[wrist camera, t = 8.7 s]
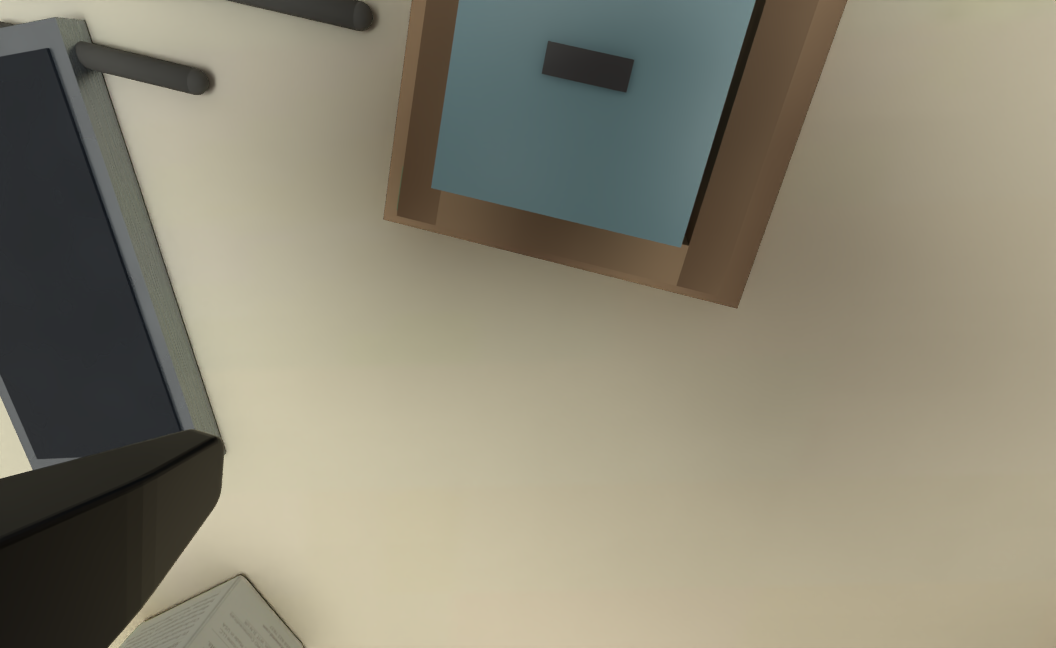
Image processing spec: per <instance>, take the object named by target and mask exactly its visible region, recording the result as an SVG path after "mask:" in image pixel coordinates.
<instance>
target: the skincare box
mask: <svg viewBox="0 0 1056 648" xmlns="http://www.w3.org/2000/svg"><path fill="white" fill-rule="evenodd" d="M119 648H303V645H302V643H301V642H300V641H299V640H298V639H297V638H296V637H295V636H294V634H293V633H292V632H291V631H290V630H289V629H288V628H287V627H286V625H285V624H284V623H283V622H282V621H281V620H280V618H279V617H278V616H277V615H276V614H275V613H274V611H273V610H272V609H271V608H270V607H269V605H268V604H267V603H266V602H265V600H264V599H263V598H262V597H261V596H260V595H259V593H258V592H257V591H256V590H255V589H254V587H253V586H252V585H251V584H250V583H249V582H248V580H247V579H245V578H244V577H243V576H237V577H235V578H233V579H231V580H229V581H227V582H225V583H223V584H221V585H219V586H217V587H215V588H213V589H211V590H209V591H207V592H205V593H203V594H201V595H199V596H197V597H195V598H193V599H190V600H188V601H186V602H184V603H182V604H180V605H178V606H176V607H174V608H172V609H170V610H168V611H166V612H164V613H162V614H160V615H158V616H156V617H154V618H152V619H150V620H147V621H145V622H143V623H141V624H140V625H139V626H138V627H137V628H136V629H135V630H134V631H133V632H132V633H131V634H130V636H129V637H128V638H127V639H126V640H125V641H124V642H123V643H122V644H121V646H120V647H119Z"/></svg>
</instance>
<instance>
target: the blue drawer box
mask: <svg viewBox="0 0 1056 648" xmlns="http://www.w3.org/2000/svg"><path fill="white" fill-rule="evenodd" d="M755 1H756V0H459V4H458V11H457V17H456V24H455V31H454V37H453V44H452V51H451V58H450V64H449V71H448V78H447V84H446V91H445V98H444V105H443V111H442V118H441V125H440V131H439V138H438V145H437V152H436V158H435V165H434V172H433V178H432V185H431V188H433V189H438V190H442V191H446V192H450V193H454V194H458V195H463V196H467V197H471V198H475V199H479V200H483V201H488V202H492V203H496V204H500V205H504V206H509V207H513V208H517V209H521V210H525V211H529V212H534V213H538V214H542V215H546V216H550V217H554V218H559V219H563V220H567V221H571V222H575V223H580V224H584V225H588V226H592V227H596V228H600V229H605V230H609V231H613V232H617V233H621V234H625V235H630V236H634V237H638V238H642V239H646V240H651V241H655V242H659V243H663V244H667V245H671V246H676V247H680V248H681V245H682V242H683V239H684V235H685V232H686V229H687V226H688V222H689V219H690V216H691V212H692V209H693V206H694V202H695V199H696V196H697V193H698V189H699V186H700V183H701V179H702V176H703V173H704V169H705V166H706V163H707V160H708V156H709V153H710V150H711V146H712V143H713V140H714V136H715V133H716V130H717V127H718V123H719V120H720V117H721V113H722V110H723V107H724V103H725V100H726V97H727V93H728V90H729V87H730V84H731V80H732V77H733V74H734V70H735V67H736V64H737V60H738V57H739V54H740V51H741V47H742V44H743V41H744V37H745V34H746V31H747V27H748V24H749V21H750V18H751V14H752V11H753V8H754V4H755Z"/></svg>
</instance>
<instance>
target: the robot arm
mask: <svg viewBox="0 0 1056 648" xmlns="http://www.w3.org/2000/svg"><path fill="white" fill-rule="evenodd" d="M223 461H224V443H223V441H222V439H221V438H220V437H218V436H216V435H212V434H209V433H206V432H203V431H200V430H196V429H188V430H184V431H180V432H176V433H173V434H169V435H165V436H161V437H157V438H154V439H150V440H146V441H142V442H138V443H135V444H131V445H127V446H123V447H119V448H116V449H112V450H108V451H104V452H100V453H97V454H93V455H89V456H85V457H81V458H78V459H74V460H70V461H66V462H62V463H59V464H55V465H51V466H47V467H43V468H40V469H36V470H32V471H28V472H24V473H21V474H17V475H13V476H9V477H5V478H2V479H0V648H108V647H109V646H110V645H111V643H112V642H113V641H114V640H115V639H116V638H117V637H118V636H119V634H120V633H121V632H122V631H123V630H124V629H125V628H126V626H127V625H128V624H129V623H130V622H131V620H132V619H133V618H134V617H135V616H136V614H137V613H138V612H139V611H140V610H141V609H142V607H143V606H144V605H145V603H146V602H147V601H148V599H149V598H150V597H151V595H152V594H153V593H154V591H155V590H156V589H157V587H158V586H159V584H160V583H161V582H162V580H163V579H164V577H165V576H166V575H167V573H168V572H169V570H170V569H171V568H172V566H173V565H174V563H175V562H176V561H177V559H178V558H179V556H180V555H181V554H182V552H183V551H184V549H185V548H186V547H187V545H188V544H189V542H190V541H191V540H192V538H193V537H194V535H195V534H196V533H197V531H198V530H199V528H200V527H201V526H202V524H203V523H204V521H205V520H206V519H207V517H208V516H209V514H210V513H211V512H212V510H213V509H214V507H215V506H216V504H217V502H218V499H219V497H220V493H221V488H222V475H223Z"/></svg>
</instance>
